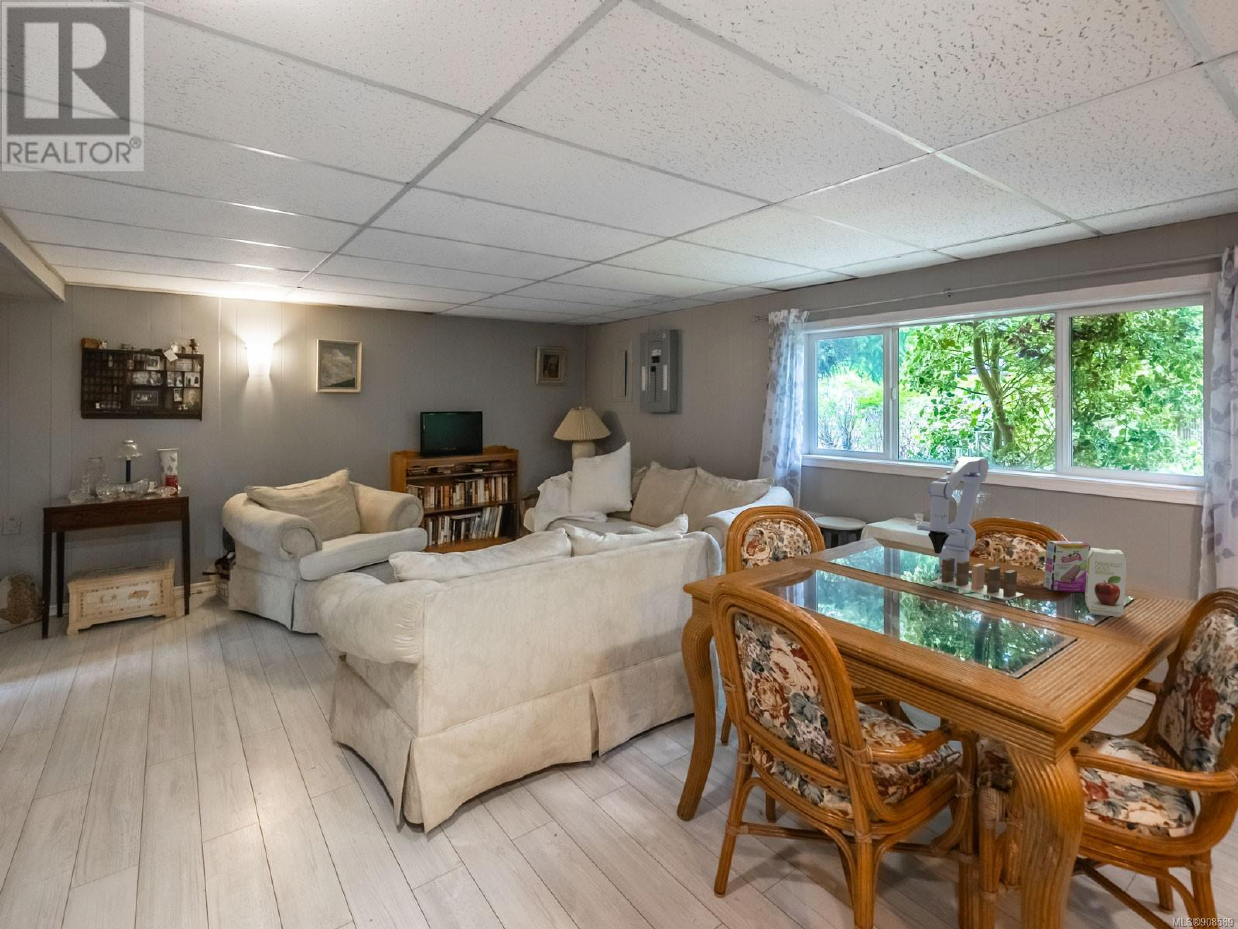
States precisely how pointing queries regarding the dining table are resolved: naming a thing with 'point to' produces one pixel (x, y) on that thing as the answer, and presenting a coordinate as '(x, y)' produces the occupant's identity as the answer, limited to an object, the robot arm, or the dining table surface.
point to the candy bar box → (1066, 566)
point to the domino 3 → (978, 576)
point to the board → (980, 591)
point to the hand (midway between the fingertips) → (937, 553)
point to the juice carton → (1105, 582)
